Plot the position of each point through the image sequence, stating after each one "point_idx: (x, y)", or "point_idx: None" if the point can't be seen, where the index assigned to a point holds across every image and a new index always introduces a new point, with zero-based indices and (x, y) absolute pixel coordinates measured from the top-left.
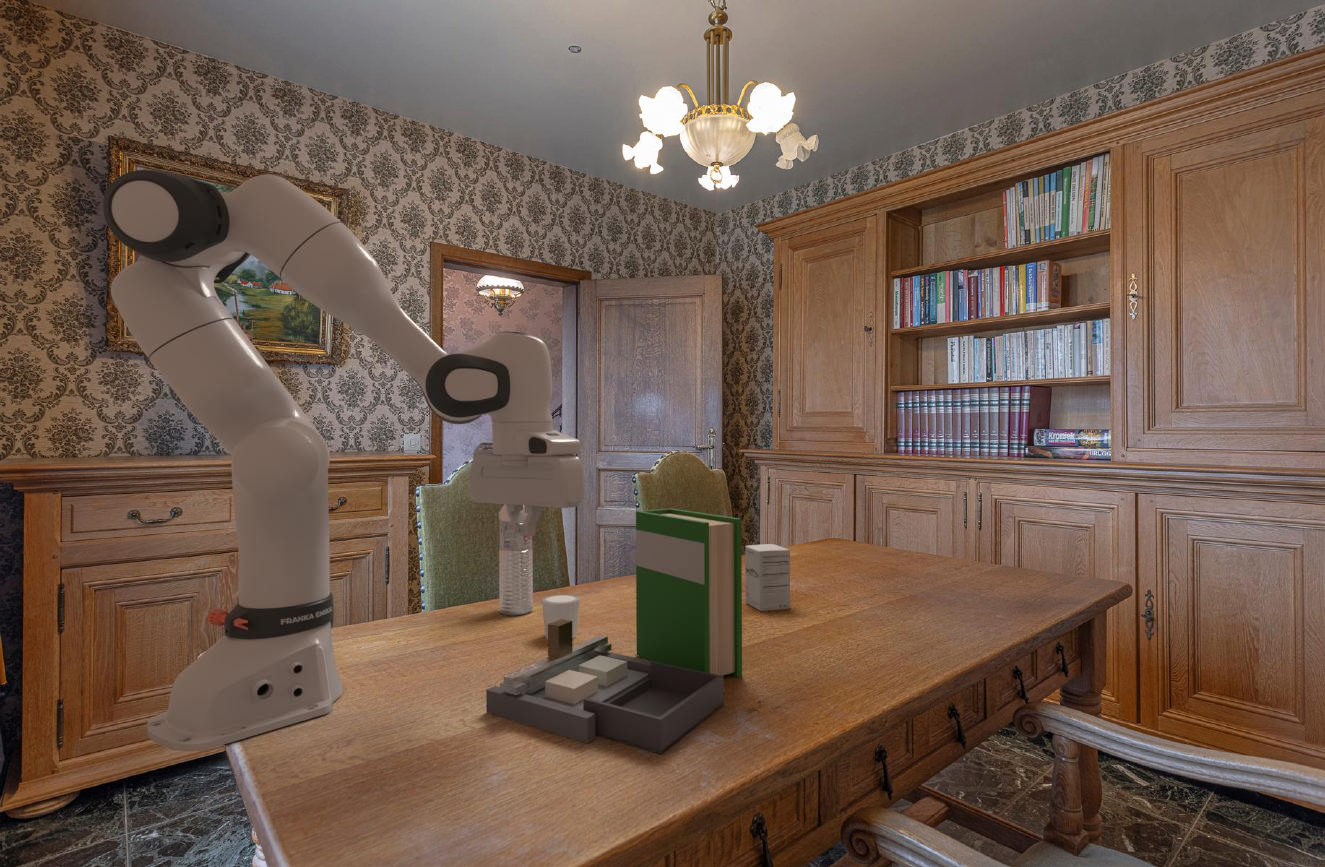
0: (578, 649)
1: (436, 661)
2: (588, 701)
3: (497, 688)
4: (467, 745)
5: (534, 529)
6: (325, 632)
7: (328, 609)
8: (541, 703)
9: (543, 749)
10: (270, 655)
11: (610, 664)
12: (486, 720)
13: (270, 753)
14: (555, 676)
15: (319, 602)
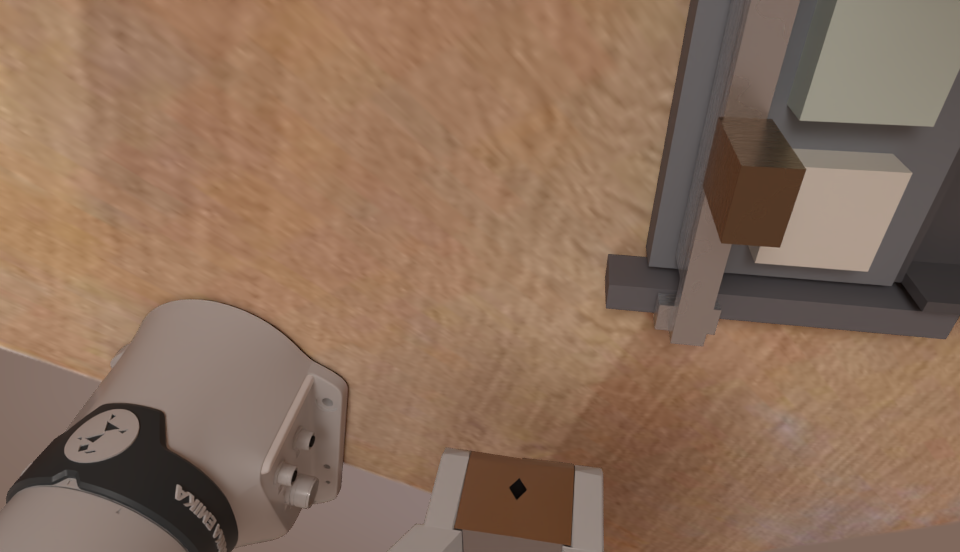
0: (778, 76)
1: (217, 96)
2: (939, 311)
3: (625, 293)
4: (669, 379)
5: (601, 506)
6: (217, 460)
7: (185, 501)
8: (788, 317)
9: (827, 347)
10: (260, 520)
11: (926, 56)
12: None
13: (415, 470)
14: None
15: (188, 541)
